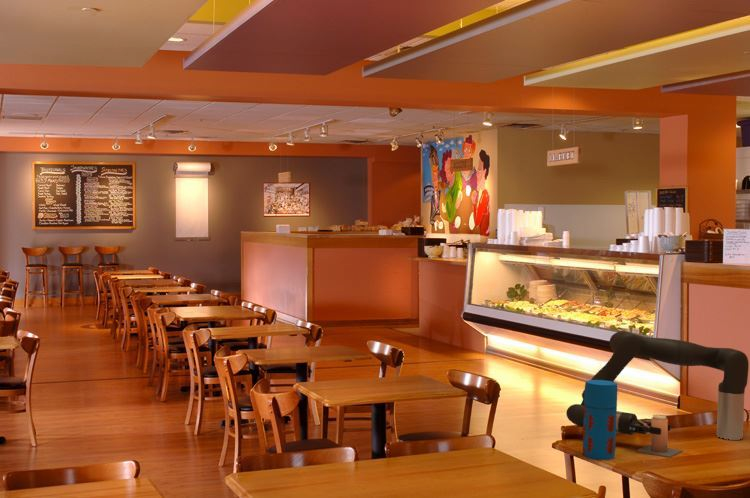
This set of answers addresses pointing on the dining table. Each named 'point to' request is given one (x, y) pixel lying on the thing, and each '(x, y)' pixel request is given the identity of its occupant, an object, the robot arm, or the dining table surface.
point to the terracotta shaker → (660, 440)
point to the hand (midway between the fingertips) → (665, 429)
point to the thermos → (600, 419)
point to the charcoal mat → (668, 454)
